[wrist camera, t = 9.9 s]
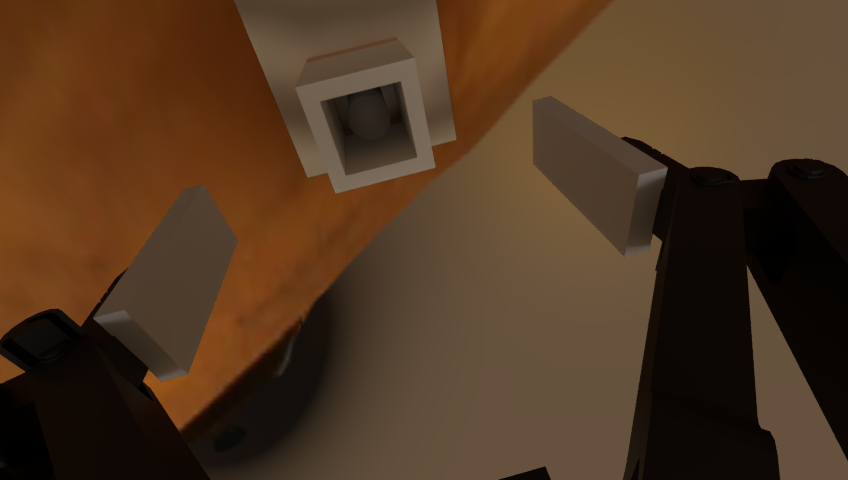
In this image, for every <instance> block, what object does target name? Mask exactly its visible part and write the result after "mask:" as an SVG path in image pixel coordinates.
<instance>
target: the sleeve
mask: <svg viewBox="0 0 848 480" xmlns="http://www.w3.org/2000/svg"><path fill="white" fill-rule="evenodd" d="M392 83H393V87H394V91H395V95H396V100H397V104H398V108H399V113H400V116H397V117H393V118H390V126H389V128H388V130H387V132H386V133H385V134H384V135H383V136H382V137H380V138H378V139H375V140H364V139H362V138H360V137H358V136H357V135H355V134H354V132H353V131H352V130H351V128H350V129H346V130H345V128H344V125H343V122H342V119H341V116H340V113H339V110H338V107H337V104H336V101H335V98H336V97H340V96H344V95H348V94H352V93H356V92H360V91H364V90H368V89H372V88H376V87H380V86H384V85H388V84H392ZM295 89H296V91H297V94H298V97H299V99H300V102H301V104H302V107H303V110H304V112H305V115H306V118H307V120H308V123H309V125H310V128H311V131H312V133H313V136H314V139H315V141H316V144H317V146H318V149H319V152H320V154H321V157H322V160H323V162H324V165H325V167H326V170H327V173H328V175H329V178H330V181H331V183H332V186H333V188H334V191H335V194H336V193H340V192H344V191H347V190H351V189H355V188H359V187H363V186H367V185H371V184H375V183H378V182H382V181H386V180H390V179H394V178H398V177H402V176H405V175H409V174H413V173H417V172H421V171H425V170H429V169H432V168H436V167H435V162H434V157H433V152H432V146H431V141H430V136H429V131H428V126H427V120H426V115H425V110H424V105H423V99H422V94H421V89H420V84H419V78H418V73H417V68H416V63H415V58H414V57H413V55H412V54H411V53H410V52H409V51H408V50H407V49H406V48H405V46H404V45H403V44H402V43H401V42H400V41H399V40H398V39H397V37H393V38H389V39H385V40H381V41H377V42H373V43H369V44H365V45H361V46H357V47H353V48H349V49H345V50H341V51H337V52H333V53H329V54H324V55H320V56H316V57H312V58H308V59H307V61H306V63H305V66H304V68H303V70H302V73H301V75H300V77H299V80H298V82H297V84H296V87H295Z"/></svg>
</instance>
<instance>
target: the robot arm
mask: <svg viewBox="0 0 848 480" xmlns="http://www.w3.org/2000/svg"><path fill="white" fill-rule="evenodd" d="M533 164H534V165H535V166H536V167H537V168H538V169H539V170H540V171H541V172H542V173H543V174H544V175H545V176H546V177H547V178H548V179H549V180H550V181H551V182H552V183H553V184H554V185H555V186H556V187H557V189H558V190H560V192H561V193H562V194H563V195H564V196H565V197H566V198H567V199H568V200H569V201H570V202H571V203H572V204H573V205H574V206H575V207H576V208H577V209H578V210H579V211H580V212H581V213H582V214H583V215H584V216H585V217H586V218H587V219H588V220H589V221H590V222H591V223H592V224H593V225H594V226H595V227H596V228H597V229H598V230H599V231H600V232H601V233H602V234H603V235H604V236H605V237H606V238H607V239H608V240H609V241H610V242H611V243H612V245H614V247H615V248H617V249H618V251H619V252H620V253H621V254H622V255H623V256H624V257H626V256H630V255H633V254H637V253H641V252H644V251H648V250H649V249H650V244H651V240H652V235H653V234H654V235H655V236H657V237H658V238H659V239H660V240H661V241H662V245H661V249H660V253H659V258H658V261H657V265H656V269H655V270H656V271H657V273H656V280H655V287H654V292H653V299H652V305H651V312H650V318H649V324H648V331H647V337H646V343H645V350H644V356H643V362H642V369H641V375H640V381H639V388H638V394H637V400H636V407H635V414H634V419H633V426H632V432H631V438H630V445H629V451H628V457H627V463H626V468H625V473H624V477H623V480H780V474H779V464H778V455H777V449H776V444H775V440H774V438H773V436H772V435H771V432H770V431H767V430H764V429H762V428H761V427H760V425H759V423H758V417H757V405H756V391H755V376H754V362H753V348H752V334H751V321H750V307H749V306H750V305H749V291H748V278H747V266H748V268H749V270H750V272H751V273H752V276H753V278H754V279H755V281H756V283H757V285H758V287H759V289H760V291H761V293H762V295H763V297H764V299H765V301H766V303H767V305H768V307H769V309H770V310H771V313H772V314H773V316H774V318H775V320H776V322H777V324H778V326H779V328H780V330H781V332H782V334H783V336H784V338H785V340H786V342H787V344H788V346H789V348H790V349H791V351H792V353H793V355H794V357H795V359H796V361H797V363H798V365H799V367H800V369H801V371H802V373H803V375H804V377H805V378H806V381H807V383H808V384H809V386H810V388H811V390H812V392H813V394H814V396H815V398H816V400H817V402H818V404H819V406H820V408H821V410H822V411H823V414H824V416H825V418H826V419H827V421H828V423H829V425H830V427H831V429H832V431H833V433H834V435H835V437H836V439H837V441H838V443H839V445H840V446H841V448H842V451H843V452H844V454H845V456H846V458H847V460H848V176H847V175H846V174H845V173H844V172H843V171H841V170H840V169H838V168H837V167H835V166H833V165H830V164H827V163H824V162H823V161H820V160H813V159H789V160H783V161H780V162H777V163H775V164H774V165H773V167H772V168H771V171H770V173H769V176H768V178H767V179H756V180H741V181H740V180H739V178H738V176H736V175H735V174H733V173H732V172H730V171H727V170H724V169H721V168H714V167H695V168H690V169H689V168H687V167H685V166H684V165H682V164H680V163H678V162H677V161H675V160H673V159H671V158H670V157H668V156H666V155H665V154H661V152H659V151H658V150H656V149H652V147H651V146H649V145H647V144H646V143H644V142H642V141H640V140H636V139H632V138H628V137H623V138H619V137H617V136H616V135H614V134H612V133H611V132H609V131H607V130H606V129H604V128H603V127H601V126H599V125H598V124H596V123H594V122H593V121H591V120H589V119H588V118H586V117H584V116H583V115H581V114H579V113H578V112H576V111H575V110H573V109H571V108H570V107H568V106H566V105H565V104H563V103H561V102H560V101H558V100H557V99H555V98H553V97H552V96H550V97H546V98H542V99H538V100H534V101H533ZM237 242H238V239H237V238H236V236H235V235H234V233H233V231H232V230H231V228H230V227H229V225H228V223H227V222H226V220H225V218H224V217H223V215H222V214H221V212H220V210H219V209H218V207H217V205H216V204H215V202H214V201H213V199H212V197H211V196H210V194H209V193H208V191H207V189H206V188H205V186H204V184H203V185H199V186H195V187H191V188H187V189H184V190H183V191H182V192H181V194H180V195H179V197H178V198H177V199H176V201H175V202H174V204H173V205H172V207H171V208H170V209H169V211H168V212H167V214H166V215H165V216H164V218H163V219H162V221H161V222H160V224H159V225H158V226H157V228H156V229H155V231H154V232H153V233H152V235H151V236H150V238H149V239H148V241H147V242H146V243H145V245H144V246H143V248H142V249H141V250H140V252H139V253H138V255H137V256H136V258H135V259H134V260H133V262H132V263H131V265H130V266H129V267H128V268H127V269H126V270H125V271H124V272H122V273H121V274H120V275H119V276H118V277H117V278H116V279H115V280H114V282H113V283H112V284H111V286H110V287H109V288H108V290H107V291H108V292H106V293H105V294H104V295H103V297H102V298H101V300H100V301H101V302H99V303H98V304H97V305H96V306H95V308H94V309H93V311H92V312H91V313H90V315H89V316H88V318H87V319H86V320H85V322H84V323H83V324H82V326H81V327H80V326H79V325H77V324H76V323H75V322H74V321H73V320H72V319H71V318H69V317H68V316H67V315H66V314H65V313H64V312H63V311H61V310H59V309H49V310H46V311H43V312H40V313H37V314H35V315H33V316H31V317H29V318H27V319H25V320H24V321H22V322H21V323H19V324H18V325H16V326H15V327H13V328H12V329H11V330H10V331H9V332H7V333H6V334H5V335H4V336H3V337H2V338H1V340H0V354H1V355H2V356H4V357H5V358H7V359H8V360H9V361H11V362H12V363H14V364H15V365H17V366H18V367H19V368H21V369H22V370H24V371H25V373H23V374H21V375H19V376H17V377H14V378H12V379H10V380H8V381H6V382H4V383H0V480H211V479H210V478H209V476H208V475H207V473H206V472H205V470H204V469H203V467H202V466H201V464H200V463H199V461H198V460H197V458H196V457H195V455H194V454H193V452H192V451H191V449H190V448H189V446H188V445H187V443H186V441H185V440H184V438H183V437H182V435H181V434H180V432H179V431H178V429H177V428H176V426H175V425H174V423H173V422H172V420H171V419H170V417H169V416H168V414H167V413H166V411H165V410H164V408H163V407H162V405H161V404H160V402H159V400H158V399H157V397H156V396H155V394H154V393H153V391H152V390H151V388H149V387H148V386H147V385H146V384H145V383H144V382H143V379H144V377H145V375H146V373H147V371H148V369H149V370H150V371H151V372H152V373H153V374H154V375H155V376H156V377H157V378H158V379H159V380H161V381H165V380H168V379H172V378H176V377H179V376H183V375H187V374H188V373H189V370H190V367H191V365H192V362H193V359H194V357H195V354H196V351H197V349H198V346H199V343H200V341H201V338H202V335H203V333H204V330H205V327H206V325H207V322H208V319H209V317H210V314H211V311H212V309H213V306H214V303H215V301H216V298H217V295H218V293H219V290H220V287H221V285H222V282H223V279H224V277H225V274H226V271H227V269H228V266H229V263H230V261H231V258H232V255H233V253H234V250H235V247H236V245H237ZM500 480H551V479H550V477H549V474H548V472H547V469H546V467H542V468H538V469H535V470H531V471H528V472H524V473H521V474H517V475H514V476H510V477H507V478H503V479H500Z"/></svg>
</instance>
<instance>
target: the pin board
mask: <svg viewBox="0 0 848 480" xmlns="http://www.w3.org/2000/svg"><path fill="white" fill-rule="evenodd" d="M234 2H235V4H236V7H237V9H238V12H239V14H240V16H241V19H242V21H243V24H244V26H245V28H246V31H247V33H248V36H249V38H250V40H251V43H252V45H253V48H254V50H255V52H256V55H257V57H258V60H259V62H260V64H261V67H262V69H263V72H264V74H265V76H266V79H267V81H268V84H269V86H270V88H271V91H272V93H273V96H274V98H275V100H276V103H277V105H278V108H279V110H280V112H281V115H282V117H283V119H284V122H285V124H286V127H287V129H288V131H289V134H290V136H291V139H292V141H293V143H294V146H295V148H296V151H297V153H298V155H299V158H300V160H301V163H302V165H303V167H304V170H305V172H306V175H307V177H308V178H309V177H313V176H317V175H321V174H325V173H327V170H326V167H325V165H324V162H323V160H322V157H321V154H320V152H319V149H318V146H317V144H316V141H315V139H314V136H313V133H312V131H311V128H310V125H309V123H308V120H307V118H306V115H305V112H304V110H303V107H302V104H301V102H300V99H299V97H298V94H297V91H296V89H295V87H296V84H297V82H298V80H299V77H300V75H301V73H302V70H303V68H304V66H305V63H306V61H307V59H308V58H312V57H316V56H320V55H324V54H329V53H333V52H337V51H341V50H345V49H349V48H353V47H357V46H361V45H365V44H369V43H373V42H377V41H381V40H385V39H389V38H393V37H397V39H398V40H399V41H400V42H401V43H402V44H403V45H404V46H405V48H406V49H407V50H408V51H409V52H410V53H411V54H412V55H413V57H414V58H415V63H416V68H417V73H418V78H419V84H420V89H421V94H422V99H423V105H424V110H425V115H426V120H427V126H428V131H429V136H430V141H431V146H434V145H438V144H442V143H446V142H450V141H454V140H456V133H455V127H454V120H453V113H452V106H451V99H450V92H449V86H448V79H447V72H446V65H445V58H444V51H443V45H442V38H441V31H440V24H439V17H438V10H437V4H436V0H234ZM335 101H336V104H337V107H338V110H339V113H340V116H341V119H342V122H343V125H344V128H345V130H346V129H350V128H351V130H352V131H353V132H354V134H355V135H357V136H358V137H360V138H362V139H364V140H375V139H378V138H380V137H382V136H383V135H384V134H385V133H386V132H387V130H388V128H389V126H390V118H393V117H397V116H400V113H399V108H398V104H397V100H396V95H395V91H394V87H393V83H392V84H388V85H384V86H380V87H376V88H372V89H368V90H364V91H360V92H356V93H352V94H348V95H344V96H340V97H336V98H335Z"/></svg>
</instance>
